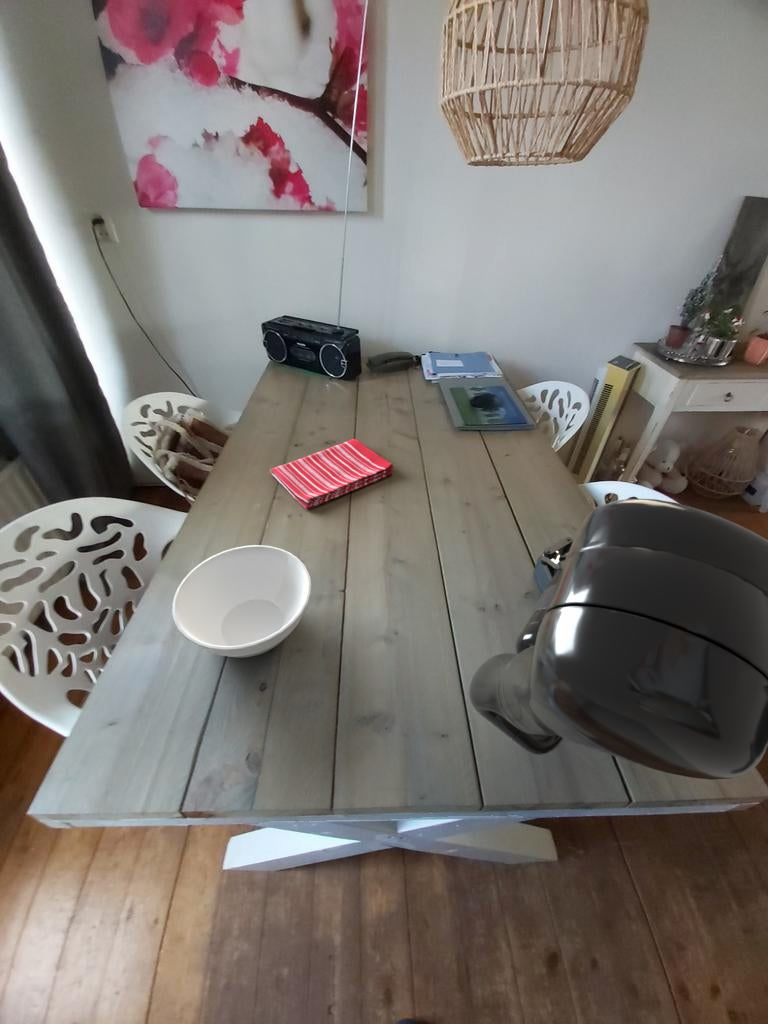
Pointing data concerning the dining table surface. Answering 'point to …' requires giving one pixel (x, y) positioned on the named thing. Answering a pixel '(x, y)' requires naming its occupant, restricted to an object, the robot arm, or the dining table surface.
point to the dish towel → (332, 473)
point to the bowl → (242, 600)
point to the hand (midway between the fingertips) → (606, 540)
